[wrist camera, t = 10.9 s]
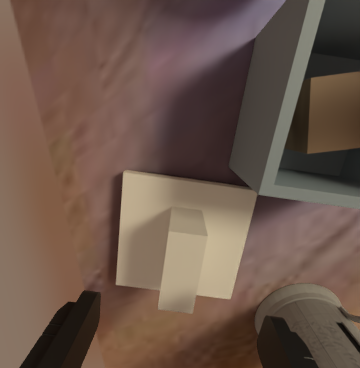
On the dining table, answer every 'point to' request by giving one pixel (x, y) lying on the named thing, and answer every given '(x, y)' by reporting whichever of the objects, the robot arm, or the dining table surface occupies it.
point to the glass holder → (316, 323)
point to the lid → (181, 237)
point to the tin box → (287, 99)
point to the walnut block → (326, 115)
